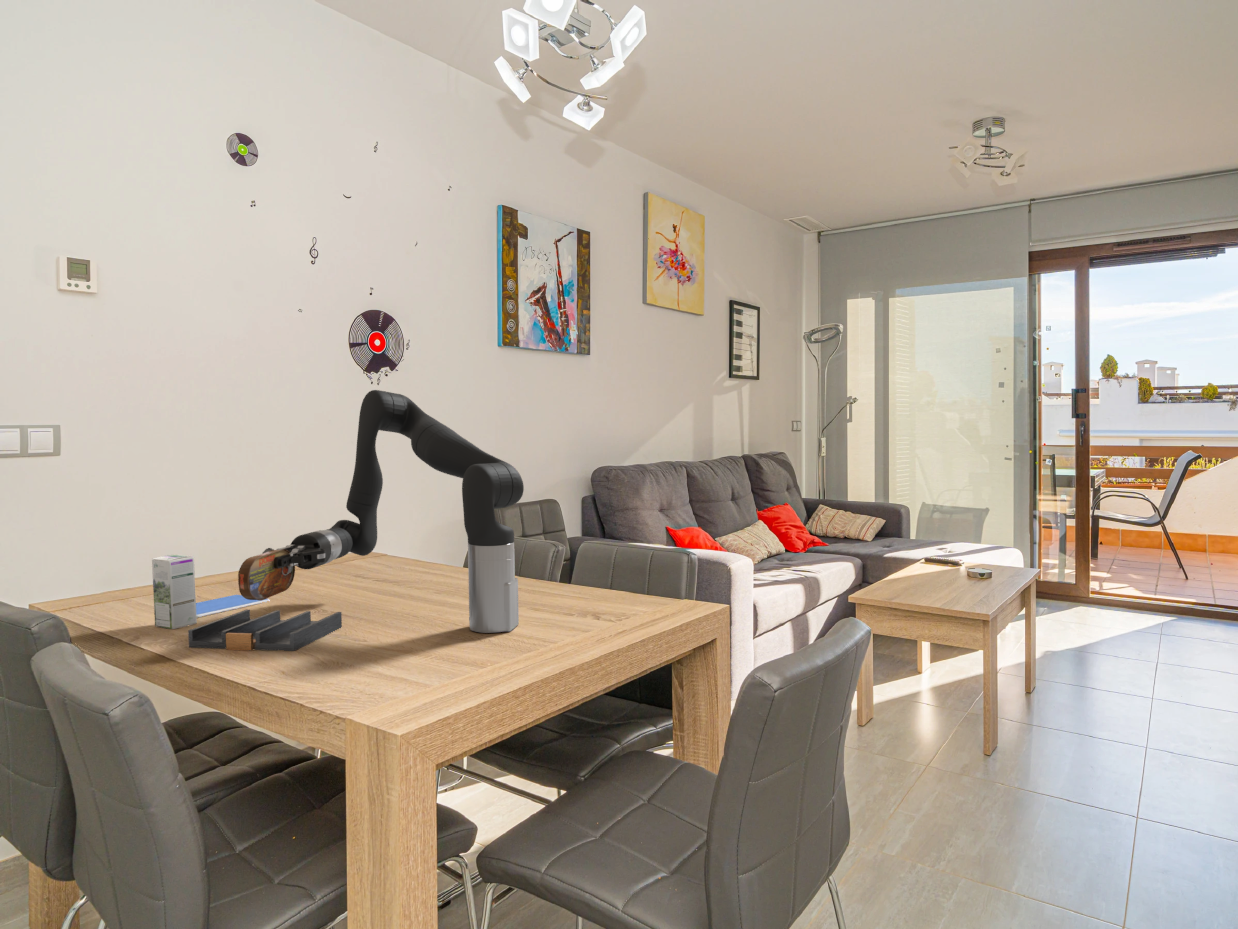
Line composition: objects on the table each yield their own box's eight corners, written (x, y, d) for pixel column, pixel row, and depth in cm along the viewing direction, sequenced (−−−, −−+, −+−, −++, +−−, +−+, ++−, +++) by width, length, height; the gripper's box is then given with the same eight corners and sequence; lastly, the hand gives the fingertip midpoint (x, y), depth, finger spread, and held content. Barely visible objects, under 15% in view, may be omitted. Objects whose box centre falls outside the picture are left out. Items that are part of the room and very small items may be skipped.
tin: (249, 605, 140) (250, 560, 139) (234, 604, 140) (234, 559, 140) (296, 587, 155) (296, 546, 154) (282, 586, 155) (282, 545, 155)
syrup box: (198, 623, 159) (195, 555, 159) (171, 630, 154) (168, 559, 153) (180, 621, 162) (177, 553, 161) (153, 627, 156) (150, 557, 156)
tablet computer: (237, 598, 186) (236, 593, 186) (272, 603, 181) (272, 597, 181) (159, 615, 169) (159, 609, 169) (195, 621, 164) (195, 615, 163)
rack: (341, 627, 154) (341, 612, 154) (292, 652, 137) (291, 634, 137) (246, 624, 157) (246, 609, 157) (186, 648, 140) (186, 631, 140)
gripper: (286, 531, 166) (234, 543, 148) (345, 532, 163) (300, 544, 146) (287, 565, 166) (236, 581, 149) (346, 566, 164) (301, 583, 147)
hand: (268, 563), depth 148 cm, fingers closed on tin, 2 cm apart
